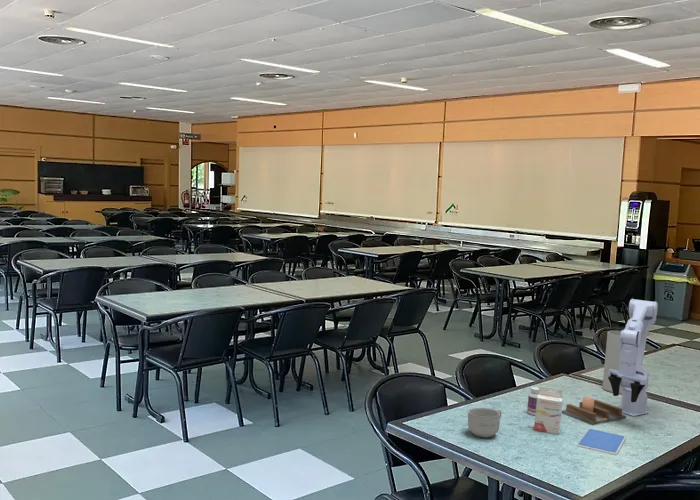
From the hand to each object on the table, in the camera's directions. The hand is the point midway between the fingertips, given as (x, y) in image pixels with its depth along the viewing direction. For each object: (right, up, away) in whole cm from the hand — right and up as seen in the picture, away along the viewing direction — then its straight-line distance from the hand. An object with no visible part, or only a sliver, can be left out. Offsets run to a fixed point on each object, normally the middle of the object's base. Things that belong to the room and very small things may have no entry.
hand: (624, 398), depth 245 cm
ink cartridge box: (-32, -9, -11) cm, 35 cm away
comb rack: (-8, -8, +8) cm, 14 cm away
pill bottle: (-31, -7, +7) cm, 33 cm away
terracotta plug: (-12, -7, +6) cm, 15 cm away
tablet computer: (-16, -11, -20) cm, 28 cm away
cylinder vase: (+16, -7, +45) cm, 49 cm away
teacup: (-54, -8, -18) cm, 58 cm away
